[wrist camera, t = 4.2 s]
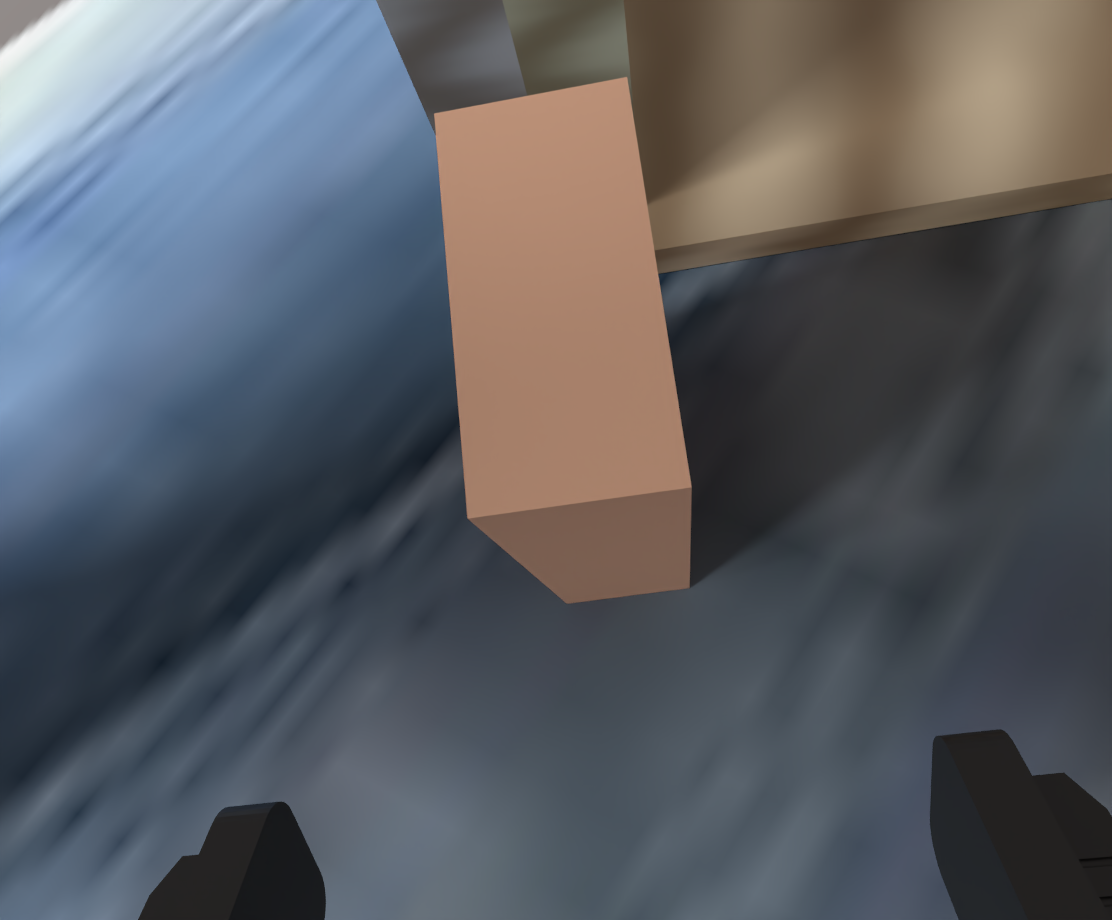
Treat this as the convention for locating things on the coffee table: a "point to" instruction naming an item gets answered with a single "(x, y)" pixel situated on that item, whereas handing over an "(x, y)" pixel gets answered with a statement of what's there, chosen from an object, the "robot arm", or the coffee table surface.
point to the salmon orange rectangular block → (563, 343)
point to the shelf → (803, 106)
